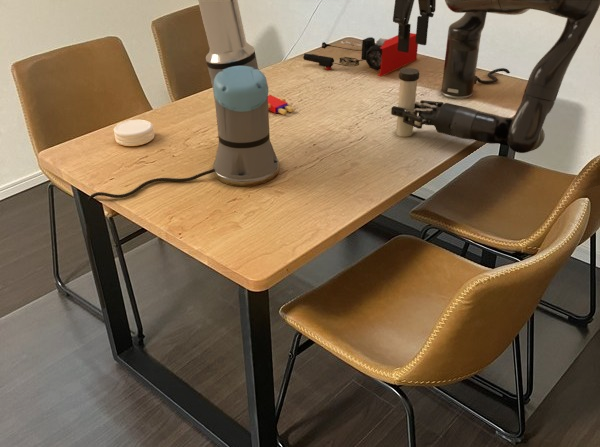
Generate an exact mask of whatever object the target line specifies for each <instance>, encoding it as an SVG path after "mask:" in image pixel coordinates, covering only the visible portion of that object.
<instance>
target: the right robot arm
mask: <svg viewBox="0 0 600 447" xmlns="http://www.w3.org/2000/svg"><path fill="white" fill-rule="evenodd" d="M444 2H445V5H446V7H447V8H448V9H449V11H451V12H453V13H455V14H463V13H464V14H463V16H461V17H460V18H459V19H458V20H456V21H454V22H452V23H451V24H449V26H448V29H447V36H446V37H447V39H446V45H445V47H446V48H445V54H444V55H445V56H444V65H443V74H442V82H441V89H440V95H442V96H444V97H446V98H449V99H455V100H464V99H465V100H466V99H469V98H471V97H473V95H474V87H475V85H477V83H479V84H484V85H490V84H491V85H492V84H496V83H497V82H498V80H499V79H498V77H496V76H495V75H494V74H496V73H499V72H505V73H506V74H510V73H511V71H510V70H509V69H508V68H505V67H500V68H495V69H493V70H491V71H489V72H488V73H487V77H488V78H489V79H490V80H485V79H484V80H483V79H481V78H480V77H478V76H477V75H476V72H477V67H478V66H477V65H478V59H479V58H478V57H479V52H480V45H481V44H480V43H481V37H482V32H483V31H484V28H485V24H486V21H487V20H486V19H487V15H488V13H489V14H490V13H491V14H498V15H510V16H516V15H517V16H519V15H523V14H525V13H527V12H529V11H530V10H535V11H540V12H544V13H548V14H550V15H553V16H557V17H561V18H565V19H566V22H565V25H564V27H563V30H562V32H561V34H560V36H559V37H558V39H557V40H556V41H555V42H554V44H553V45H552V46H551V47H550V49H549V50H548V51H547V52H546V53H544V55H543V56H542V57H541V58H540V59H539V60H538V61H537V63H536V64H535V66H534V67H533V69H531V72H530V74H529V76H528V79H527V83H526V86H525V89H524V92H523V94H522V98H521V102H520V104H519V106H518V108H517V110H516V112H515V114H514V116H513V117H505V116H501V115H497V114H495V113H490V112H486V111H485V112H484V111H482V110H481V111H480V110H477V109H476V108H472V107H468V106H463V105H457V104H454V103H450V102H443V101H434V100H424V99H421V100H419V101H415V109H414V110H411V109H405V108H401V107H398V106H396V105H394V106H392V107H391V112H390V114H391V116H395V117H397V116H399V117H403V122H404V123H406V124H409V125H411V126H413V128H416V129H417V130H420V129H422V128H423V126H433V127H434V128H435V130H436V132H437V133H438V134H443V135H446V136H451V137H455V138H459V139H464V140H471V141H476V142H480V143H483V144H484V143H485V144H492V145H493V144H494V145H495V144H497V145H502V146H507V147H509V149H511V150H512V151H513V152H514V153H519V154H526V153H530V152H533V151H535V150H537V149H539V147H541V146H542V144H543V143H544V141H545V130H544V128H543V126H544V123H545V121H546V118H547V116H548V114H550V112H551V111H552V109H553V107H554V105H555V103H556V100H557V97H558V95H559V92H560V88H561V85H562V83H563V80H564V78H565V75H566V73H567V71H568V68H569V67H570V65H571V62H572V60H573V58H574V57H575V55H576V52H578V50H579V47H580V45H581V43H582V42H583V40H584V38H585V36H586V34H587V32H588V30H589V29H590V26H591V25H592V23H593V21H594V20H595V17H596V15H597V13H598V11H599V8H600V0H444ZM411 113H413V114H414V115H413V114H411Z"/></svg>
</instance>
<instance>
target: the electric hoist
mask: <svg viewBox="0 0 600 447" xmlns="http://www.w3.org/2000/svg"><path fill="white" fill-rule="evenodd" d="M375 39H376V38H374V37H373V36H370V37H365V38H364V39H362V40H361V41H362V43H360V42H355V41H351V42H350V41H347V40H343V41H342V40H341V41H340V42H341V44H343V45H350V46H351V47H354V46H358V47H361V49H353V48H346V47H340V46H336V45H332V44H329V43H326V42H325V41H323V42H322V43H321V49H324V50H325V49H326V48H327V47H332V48H338V49H343V50H344V49H345V50H349V51H356V52H361V58H360V59H357V58H354V57H348V56H342V57H339V63H336V62H335V59H334V57H331V56H325V55H319V54H314V53H304V54H303V57H302V58H303V60H304V61H308V62H312V63H316V64H317V63H318V66H319V67H323V68H324V67H325V70H332V67H333V66H334V65H338V66H344V67H350V66H354V67H358V66H360V62H363V61H365V62H366V64H367V65H368V67H369V68H370V69H372V70H375V71H377V72H378V71H379V73H378V74H377V76H378V77H382V76H385V75H387V74H389V73H391V72H394V71H395V70H397V69H399V68H400V69H401V68H402V67H404V66H406V65H408V64H410V63H413V62H414V61H417V59H418V58H417V57H418V49H419V48H418V47H419V44H416V43H415V42H416V33H414V32H410V41H409V52H407V53H406V52H402V51H398V34H397V35H395V36H393V37H391V38H382V37H381V38H380V37H379V38H378V40H375Z"/></svg>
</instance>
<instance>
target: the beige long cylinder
mask: <svg viewBox="0 0 600 447" xmlns="http://www.w3.org/2000/svg"><path fill="white" fill-rule="evenodd" d="M417 88H418V80H416V81H403V80H401V79H399V88H398V89H399V90H398V103H397V107H401V108H405V109H411V110H414V109H415V102H416V100H417V99H416V98H417ZM411 114H413V113H411ZM413 115H414V114H413ZM396 117H397V118H396V129H395V130H396V131H395V133H396V135H397V136H398V137H402V138H403V137H404V138H406V137H411V136H412V135H413V133H414V132H413V131H414V127H413V126H411V125H409V124H406V123H404V122H403V117H399V116H396Z"/></svg>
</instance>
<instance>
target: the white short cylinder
mask: <svg viewBox="0 0 600 447" xmlns="http://www.w3.org/2000/svg"><path fill="white" fill-rule="evenodd" d="M154 129H155V128H154V125H153V123H152V122H151V121H149V120H147V119H139V118H138V119H128V120H125V121H121V122H119V123H118V124H116V125H115V126H114V127H113V133H114V140H115V142H116V144H118V145H120V146H125V147H138V146H142V145H145V144H148V143H150V142H151V141H152V140H154V138H155V130H154Z"/></svg>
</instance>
